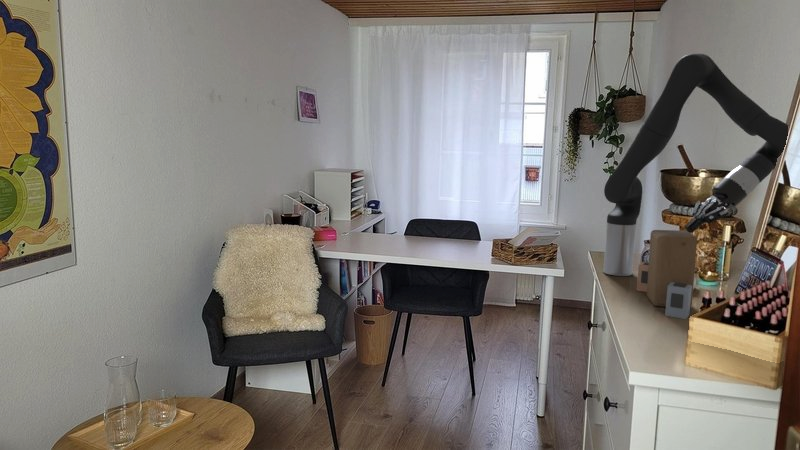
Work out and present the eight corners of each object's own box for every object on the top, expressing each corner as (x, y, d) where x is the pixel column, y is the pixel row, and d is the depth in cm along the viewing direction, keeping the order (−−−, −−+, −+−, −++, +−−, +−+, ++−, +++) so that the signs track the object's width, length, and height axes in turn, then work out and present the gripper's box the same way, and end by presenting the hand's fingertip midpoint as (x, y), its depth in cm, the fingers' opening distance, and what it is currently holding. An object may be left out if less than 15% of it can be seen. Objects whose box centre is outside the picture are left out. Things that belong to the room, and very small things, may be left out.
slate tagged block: (668, 310, 155) (671, 280, 153) (689, 314, 152) (692, 284, 150) (664, 315, 150) (667, 285, 149) (685, 319, 148) (688, 288, 146)
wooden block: (692, 309, 156) (698, 236, 152) (653, 307, 158) (658, 235, 154) (682, 298, 165) (688, 230, 162) (645, 296, 167) (650, 229, 164)
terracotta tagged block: (640, 286, 178) (642, 260, 177) (657, 289, 176) (660, 263, 174) (636, 290, 174) (638, 263, 173) (653, 293, 171) (656, 266, 170)
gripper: (712, 175, 163) (667, 217, 164) (742, 178, 150) (692, 224, 151) (729, 193, 164) (683, 235, 166) (760, 199, 151) (710, 244, 152)
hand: (687, 230), depth 158 cm, fingers closed
